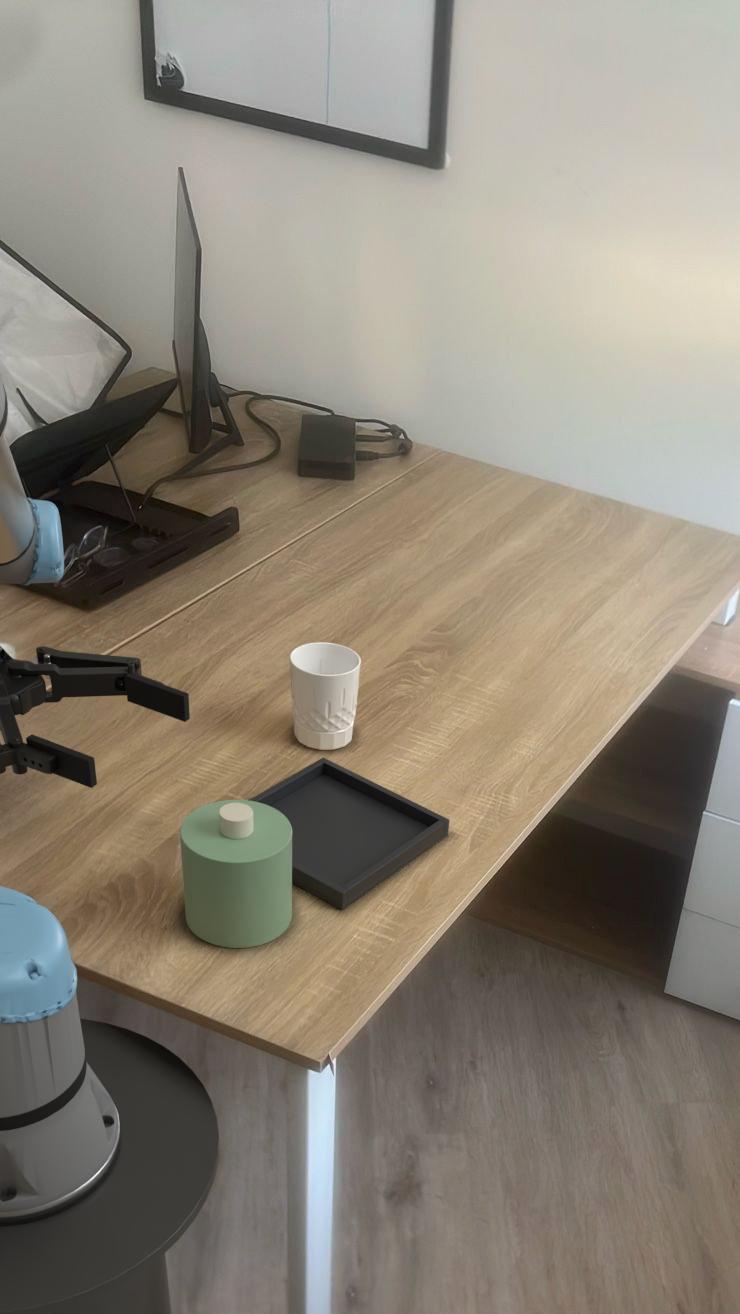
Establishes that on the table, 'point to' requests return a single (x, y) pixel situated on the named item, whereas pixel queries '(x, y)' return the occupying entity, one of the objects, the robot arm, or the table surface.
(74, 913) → the table surface
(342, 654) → the white cup
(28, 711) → the robot arm
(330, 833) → the tray
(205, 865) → the cover
